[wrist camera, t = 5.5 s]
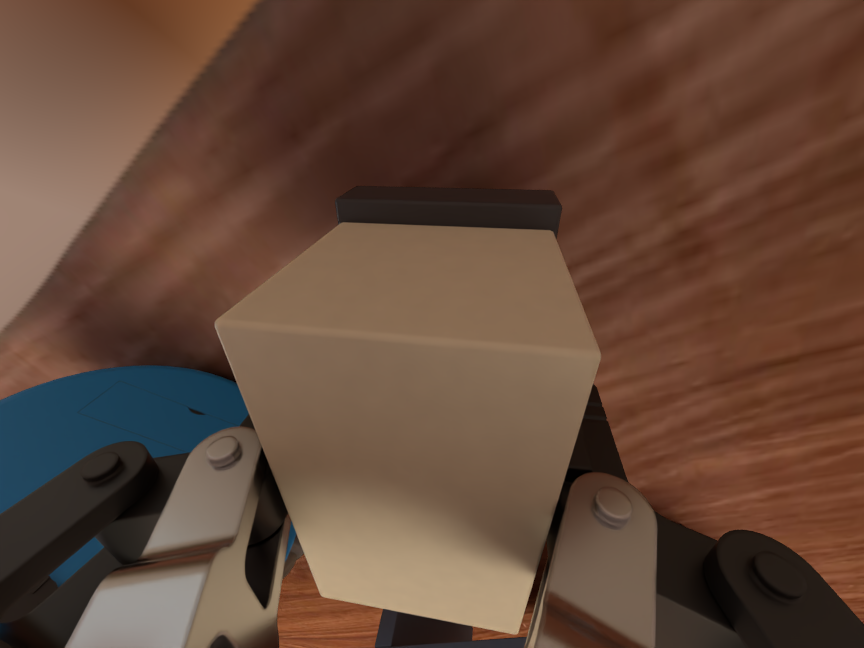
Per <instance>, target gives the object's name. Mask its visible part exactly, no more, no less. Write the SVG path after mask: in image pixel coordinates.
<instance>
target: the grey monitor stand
mask: <svg viewBox="0 0 864 648" xmlns="http://www.w3.org/2000/svg"><path fill="white" fill-rule="evenodd" d="M680 525H681V524H680ZM472 631H473V628H472V627H471V626H469V625H464V624H459V623H454V622H449V621H443V620H438V619H433V618H428V617H423V616H418V615H413V614H408V613H403V612H398V611H392V610H387V609H383V612H382V616H381V621H380V625H379V630H378V634H377V639H376V643H375V648H524V647H525V643H526V639H527V637H518V638H504V639H490V640H476V641H472Z"/></svg>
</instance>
